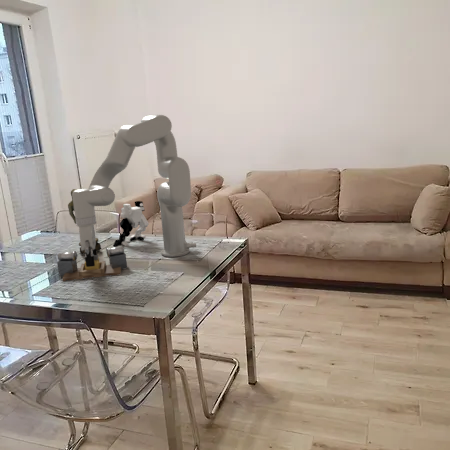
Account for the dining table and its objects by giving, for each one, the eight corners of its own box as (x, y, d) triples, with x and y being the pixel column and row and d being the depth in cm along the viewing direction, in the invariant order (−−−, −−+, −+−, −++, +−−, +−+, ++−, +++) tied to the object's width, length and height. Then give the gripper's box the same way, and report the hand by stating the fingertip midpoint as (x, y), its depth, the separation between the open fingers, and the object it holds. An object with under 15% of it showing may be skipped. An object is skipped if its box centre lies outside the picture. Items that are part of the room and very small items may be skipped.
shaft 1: (59, 275, 188) (55, 253, 186) (63, 272, 192) (60, 250, 190) (75, 275, 187) (72, 253, 185) (79, 271, 191) (76, 249, 189)
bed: (121, 265, 196) (121, 259, 195) (120, 274, 185) (119, 267, 184) (66, 271, 192) (65, 265, 192) (62, 281, 182) (61, 274, 181)
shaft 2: (124, 265, 196) (122, 243, 194) (127, 268, 192) (124, 246, 190) (108, 268, 193) (105, 246, 191) (110, 271, 189) (107, 249, 187)
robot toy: (139, 235, 241) (135, 197, 236) (157, 240, 232) (153, 200, 226) (107, 245, 227) (102, 204, 222) (125, 250, 218) (121, 207, 213)
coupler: (87, 269, 191) (85, 255, 189) (100, 267, 191) (98, 253, 190) (86, 273, 186) (83, 258, 184) (99, 271, 187) (97, 257, 185)
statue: (96, 256, 211) (87, 190, 203) (73, 256, 213) (64, 190, 206) (106, 249, 221) (98, 185, 213) (85, 249, 223) (76, 186, 216)
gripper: (78, 216, 191) (84, 257, 195) (73, 226, 175) (79, 270, 179) (97, 215, 192) (103, 254, 196) (93, 224, 176) (99, 268, 180)
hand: (91, 262), depth 188 cm, fingers open, 9 cm apart
